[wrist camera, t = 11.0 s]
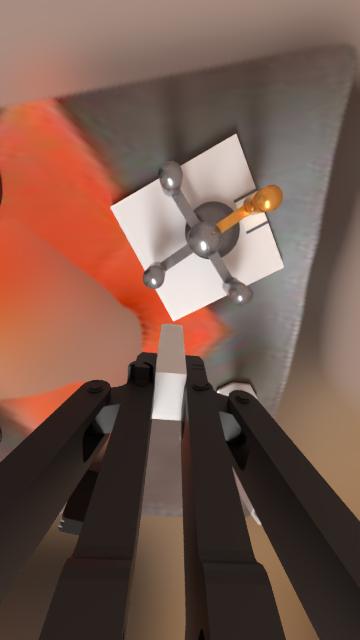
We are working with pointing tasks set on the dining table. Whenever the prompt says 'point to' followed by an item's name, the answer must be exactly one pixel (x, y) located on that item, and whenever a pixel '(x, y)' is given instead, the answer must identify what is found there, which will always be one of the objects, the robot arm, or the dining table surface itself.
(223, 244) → the silver metal piece
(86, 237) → the dining table surface
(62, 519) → the electronic device
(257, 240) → the stand plate
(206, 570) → the robot arm
